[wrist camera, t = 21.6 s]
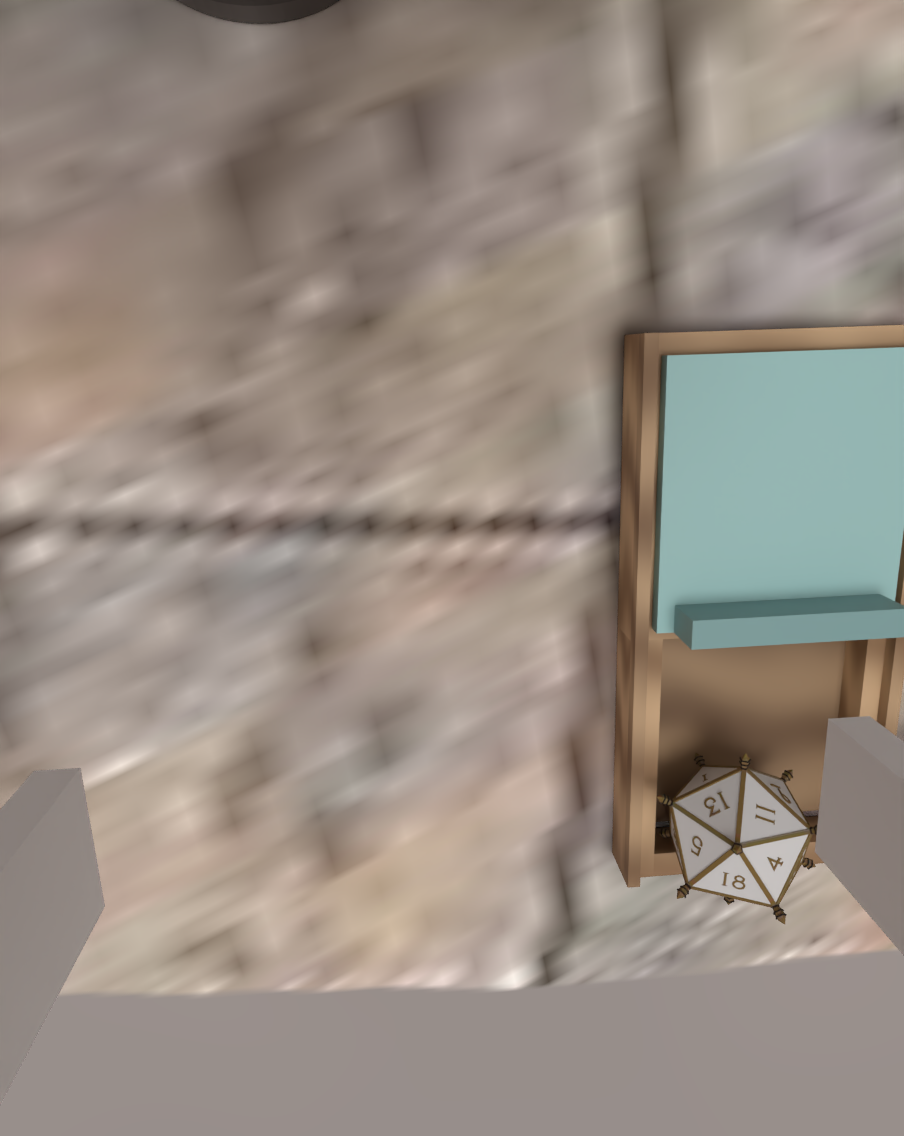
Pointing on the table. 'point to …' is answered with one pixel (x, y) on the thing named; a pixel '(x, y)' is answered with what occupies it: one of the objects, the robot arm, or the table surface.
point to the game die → (738, 834)
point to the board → (721, 675)
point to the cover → (780, 497)
